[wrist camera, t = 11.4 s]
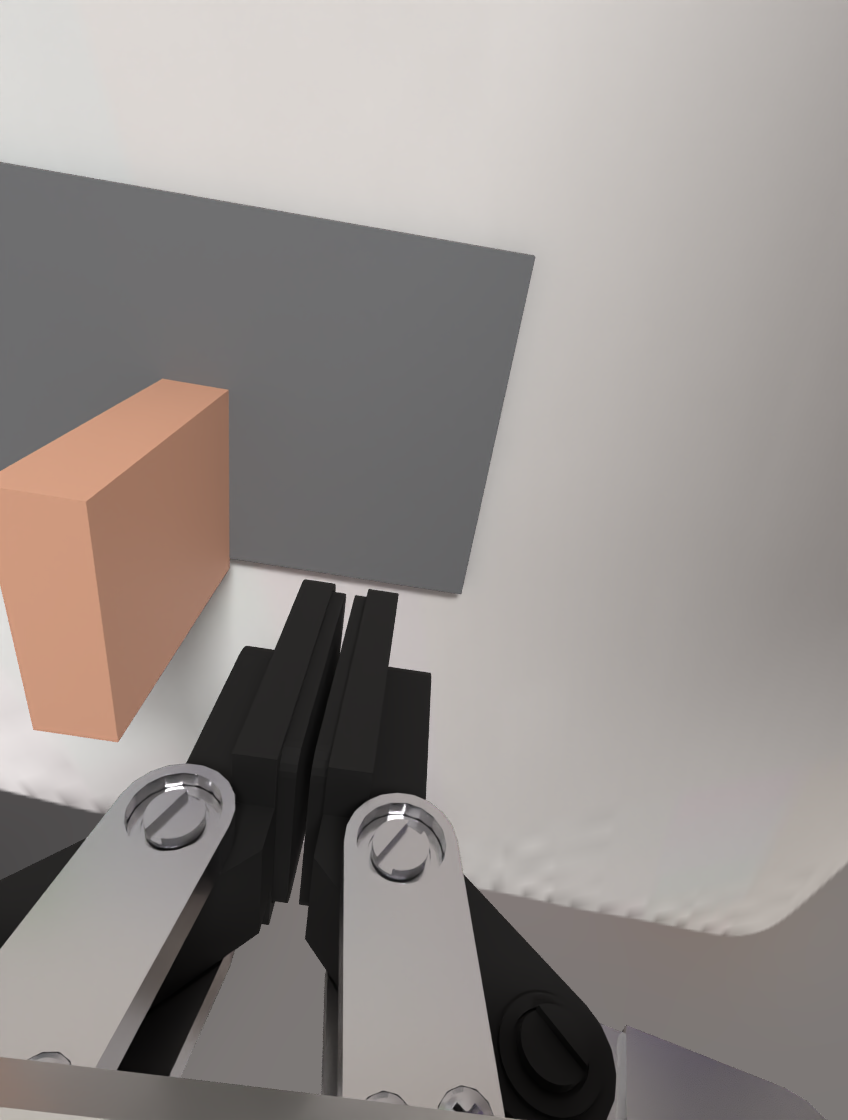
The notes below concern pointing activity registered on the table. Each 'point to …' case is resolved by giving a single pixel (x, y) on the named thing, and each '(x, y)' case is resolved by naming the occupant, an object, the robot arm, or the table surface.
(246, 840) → the robot arm
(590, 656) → the table surface
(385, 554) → the mat
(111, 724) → the slab
